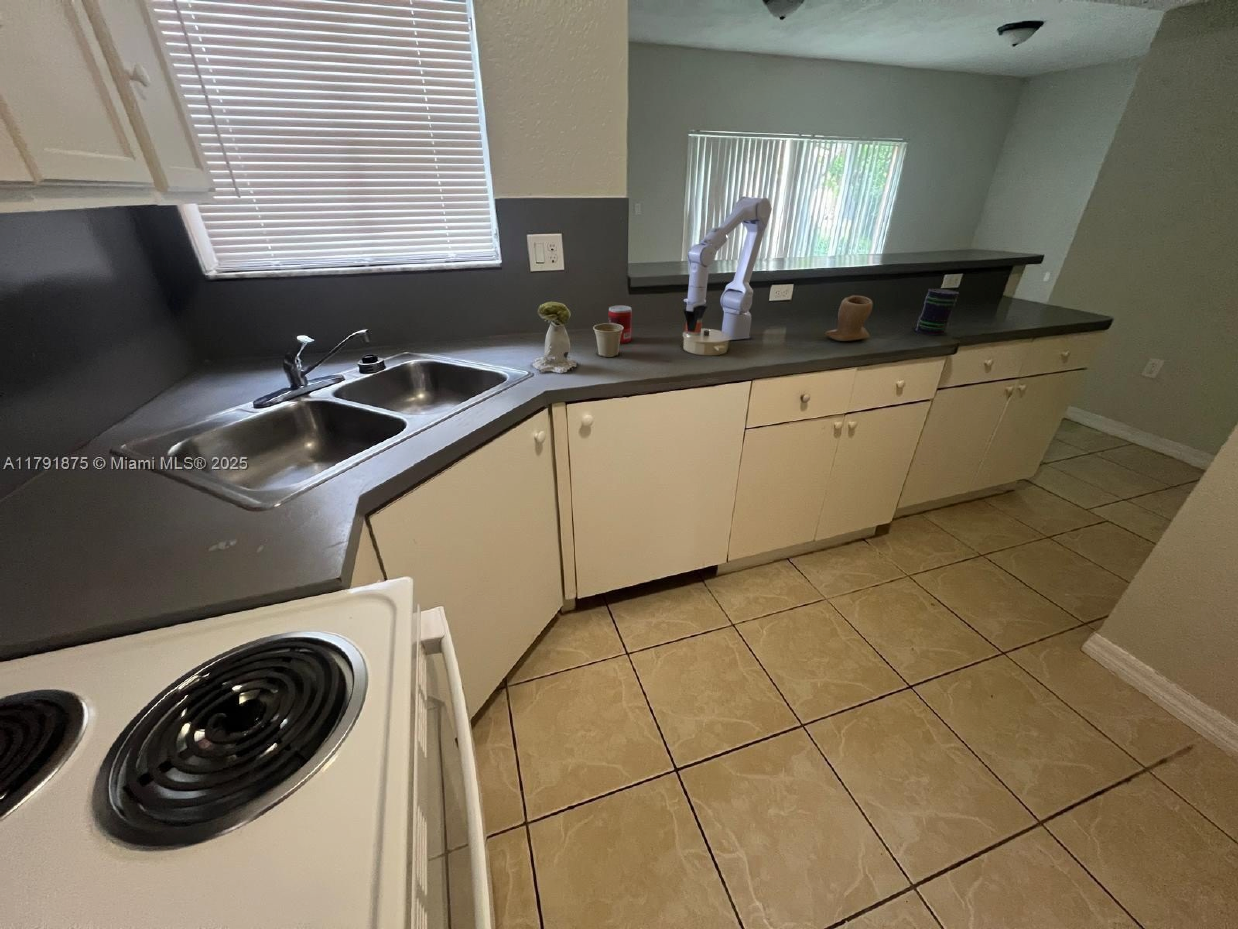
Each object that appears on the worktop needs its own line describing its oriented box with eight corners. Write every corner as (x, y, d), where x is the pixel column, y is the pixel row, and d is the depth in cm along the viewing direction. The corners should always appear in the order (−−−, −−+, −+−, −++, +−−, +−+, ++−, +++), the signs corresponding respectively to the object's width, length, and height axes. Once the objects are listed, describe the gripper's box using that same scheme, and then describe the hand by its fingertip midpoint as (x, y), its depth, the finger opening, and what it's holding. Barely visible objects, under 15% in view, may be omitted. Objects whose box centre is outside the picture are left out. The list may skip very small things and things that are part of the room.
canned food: (631, 337, 171) (632, 305, 165) (629, 344, 164) (630, 311, 158) (609, 336, 171) (610, 304, 166) (607, 343, 165) (607, 310, 159)
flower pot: (601, 360, 149) (601, 332, 145) (588, 351, 156) (588, 325, 152) (628, 356, 153) (628, 329, 148) (614, 348, 160) (615, 321, 155)
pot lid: (714, 330, 169) (715, 322, 168) (739, 342, 156) (740, 334, 155) (674, 333, 164) (674, 326, 163) (696, 347, 151) (697, 339, 150)
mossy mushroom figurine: (536, 359, 149) (532, 297, 140) (578, 359, 149) (576, 298, 140) (530, 372, 139) (524, 306, 130) (575, 373, 139) (572, 307, 129)
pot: (708, 338, 172) (709, 326, 170) (740, 355, 156) (742, 343, 154) (671, 341, 168) (672, 330, 165) (700, 359, 152) (702, 347, 150)
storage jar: (947, 331, 186) (962, 291, 178) (941, 336, 180) (956, 294, 172) (918, 326, 192) (932, 287, 184) (912, 331, 185) (925, 290, 178)
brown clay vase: (841, 346, 167) (853, 301, 159) (820, 336, 177) (830, 293, 169) (877, 343, 171) (890, 299, 163) (854, 333, 181) (866, 292, 173)
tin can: (696, 330, 164) (697, 315, 161) (703, 334, 160) (705, 319, 157) (682, 331, 162) (683, 316, 160) (690, 335, 158) (691, 320, 156)
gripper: (692, 281, 160) (688, 322, 167) (678, 288, 149) (675, 332, 156) (712, 283, 158) (708, 324, 165) (701, 290, 147) (696, 335, 154)
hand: (693, 328), depth 160 cm, fingers closed on tin can, 5 cm apart
